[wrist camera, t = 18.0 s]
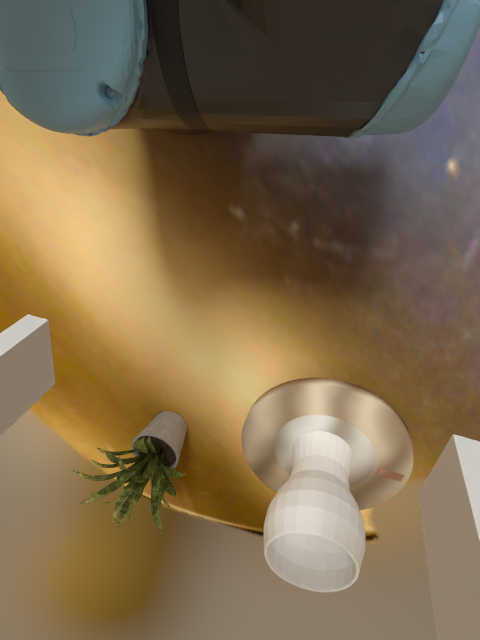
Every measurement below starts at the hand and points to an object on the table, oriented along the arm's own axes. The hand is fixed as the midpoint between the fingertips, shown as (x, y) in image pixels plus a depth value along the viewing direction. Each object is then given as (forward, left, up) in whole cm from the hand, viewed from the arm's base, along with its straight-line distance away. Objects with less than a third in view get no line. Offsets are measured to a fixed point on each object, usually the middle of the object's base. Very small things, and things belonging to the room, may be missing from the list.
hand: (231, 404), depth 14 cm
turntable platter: (+9, -32, -33) cm, 46 cm away
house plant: (-14, -38, -35) cm, 53 cm away
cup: (+9, -32, -31) cm, 45 cm away
